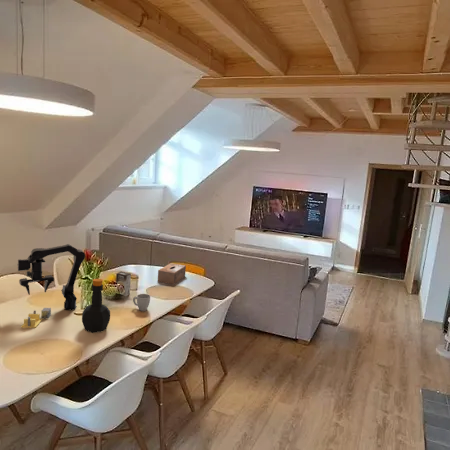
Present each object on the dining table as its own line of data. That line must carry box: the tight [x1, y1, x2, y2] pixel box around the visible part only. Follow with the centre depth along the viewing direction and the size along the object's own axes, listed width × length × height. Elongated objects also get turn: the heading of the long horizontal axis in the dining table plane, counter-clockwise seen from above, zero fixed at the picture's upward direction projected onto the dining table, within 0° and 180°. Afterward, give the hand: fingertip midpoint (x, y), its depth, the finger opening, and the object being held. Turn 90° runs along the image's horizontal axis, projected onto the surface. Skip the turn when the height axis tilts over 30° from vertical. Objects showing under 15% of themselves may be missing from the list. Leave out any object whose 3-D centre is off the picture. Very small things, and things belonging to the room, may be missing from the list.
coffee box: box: [115, 270, 132, 297], centre depth 283 cm, size 9×6×16 cm
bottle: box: [81, 278, 111, 334], centre depth 223 cm, size 16×16×30 cm
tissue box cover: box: [157, 262, 187, 285], centre depth 329 cm, size 26×14×10 cm, turn 164°
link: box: [40, 307, 52, 320], centre depth 234 cm, size 4×5×5 cm
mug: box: [132, 293, 151, 312], centre depth 258 cm, size 12×9×10 cm
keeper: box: [20, 310, 43, 329], centre depth 223 cm, size 8×11×6 cm
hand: (37, 293), depth 237 cm, fingers open, 9 cm apart
